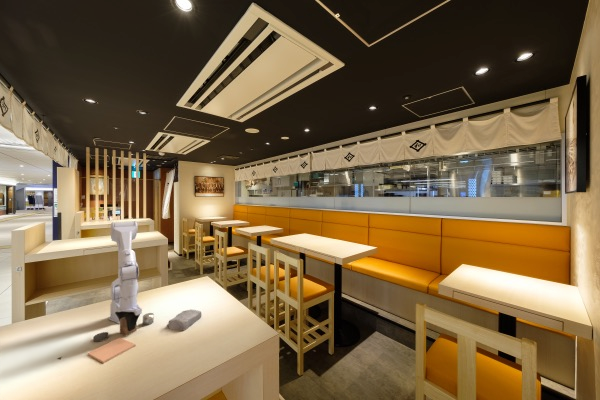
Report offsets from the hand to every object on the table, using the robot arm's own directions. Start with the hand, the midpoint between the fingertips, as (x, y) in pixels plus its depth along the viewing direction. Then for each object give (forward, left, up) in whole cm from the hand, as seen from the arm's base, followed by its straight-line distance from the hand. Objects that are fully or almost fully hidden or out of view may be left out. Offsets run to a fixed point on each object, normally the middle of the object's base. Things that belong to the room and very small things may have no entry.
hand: (128, 328), depth 94 cm
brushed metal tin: (0, +8, -2) cm, 8 cm away
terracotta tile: (+7, -9, -2) cm, 12 cm away
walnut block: (0, 0, -2) cm, 2 cm away
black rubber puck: (-5, -7, -2) cm, 9 cm away
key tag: (-6, -19, -2) cm, 20 cm away
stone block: (+14, +15, -2) cm, 21 cm away
